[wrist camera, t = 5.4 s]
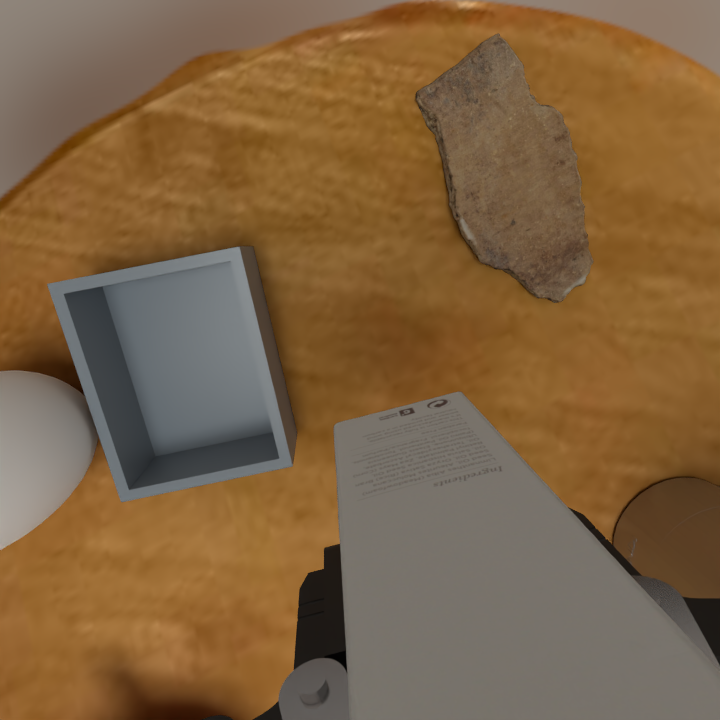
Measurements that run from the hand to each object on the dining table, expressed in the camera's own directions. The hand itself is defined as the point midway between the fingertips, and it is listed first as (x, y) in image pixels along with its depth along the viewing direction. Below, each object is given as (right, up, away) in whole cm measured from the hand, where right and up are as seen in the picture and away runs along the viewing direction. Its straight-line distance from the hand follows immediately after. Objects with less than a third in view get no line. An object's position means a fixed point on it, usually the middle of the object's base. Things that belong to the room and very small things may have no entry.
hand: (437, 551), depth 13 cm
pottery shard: (+7, +15, +17) cm, 24 cm away
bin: (-12, +5, +18) cm, 22 cm away
